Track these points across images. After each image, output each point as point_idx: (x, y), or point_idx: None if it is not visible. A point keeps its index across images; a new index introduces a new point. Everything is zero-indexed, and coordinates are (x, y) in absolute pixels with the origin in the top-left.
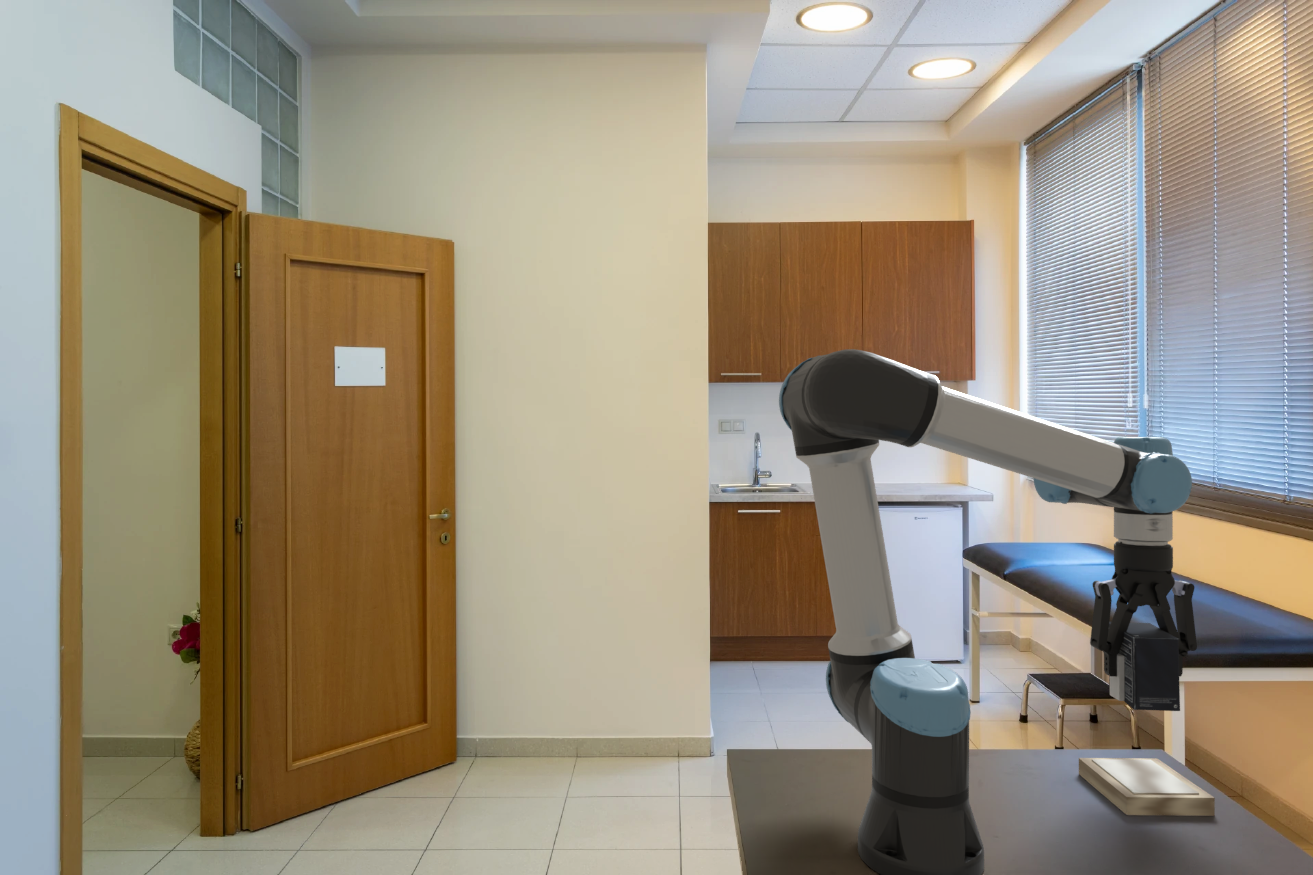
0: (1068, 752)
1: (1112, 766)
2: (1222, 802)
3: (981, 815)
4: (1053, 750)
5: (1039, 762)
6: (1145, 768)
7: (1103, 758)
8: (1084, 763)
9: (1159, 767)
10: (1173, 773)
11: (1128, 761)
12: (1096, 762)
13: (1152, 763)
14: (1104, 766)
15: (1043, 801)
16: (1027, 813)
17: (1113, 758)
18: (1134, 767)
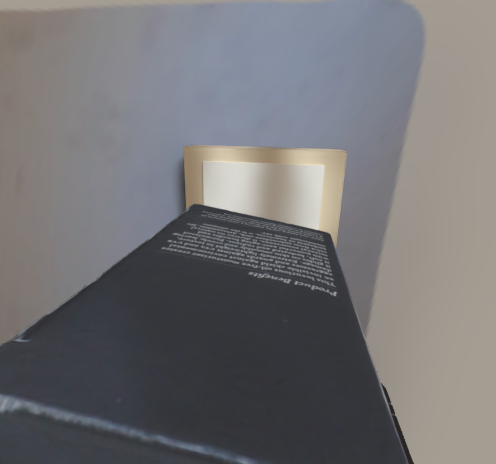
0: (222, 21)
1: (225, 198)
2: (373, 265)
3: (8, 283)
4: (194, 9)
5: (141, 85)
6: (284, 210)
7: (232, 150)
8: (185, 171)
9: (314, 207)
10: (327, 228)
11: (271, 174)
12: (204, 178)
13: (314, 185)
14: (210, 198)
15: (98, 248)
16: (66, 281)
17: (253, 150)
18: (265, 204)
